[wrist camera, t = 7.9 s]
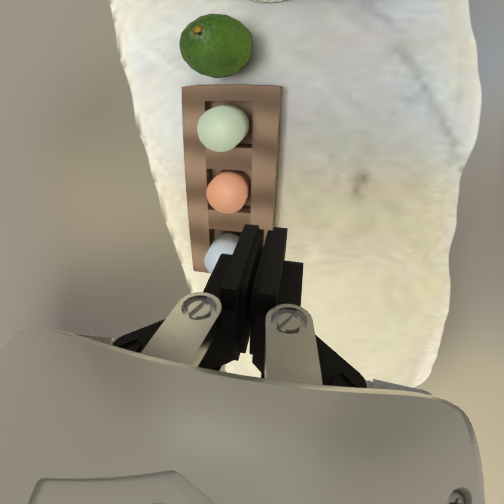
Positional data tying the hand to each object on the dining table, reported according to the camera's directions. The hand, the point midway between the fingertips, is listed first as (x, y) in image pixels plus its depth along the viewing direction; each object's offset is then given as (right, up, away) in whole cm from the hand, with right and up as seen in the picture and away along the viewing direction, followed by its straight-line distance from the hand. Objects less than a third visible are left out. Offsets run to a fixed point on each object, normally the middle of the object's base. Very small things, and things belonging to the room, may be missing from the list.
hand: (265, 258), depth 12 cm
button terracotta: (-3, +10, +29) cm, 31 cm away
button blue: (-4, +1, +32) cm, 32 cm away
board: (-3, +10, +29) cm, 31 cm away
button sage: (-3, +16, +22) cm, 27 cm away
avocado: (-4, +26, +19) cm, 33 cm away
